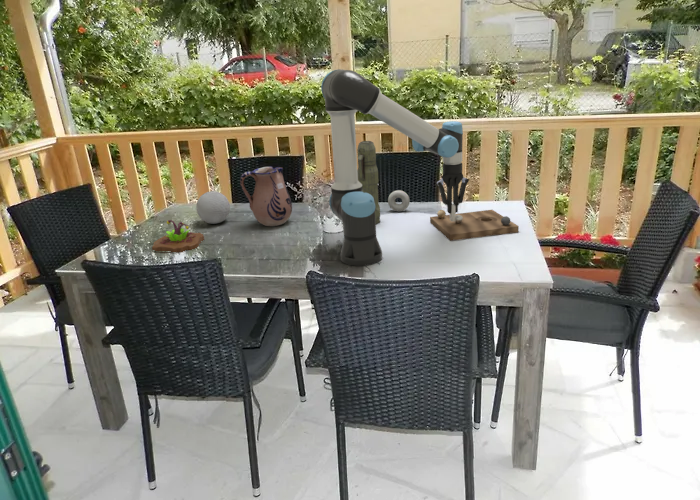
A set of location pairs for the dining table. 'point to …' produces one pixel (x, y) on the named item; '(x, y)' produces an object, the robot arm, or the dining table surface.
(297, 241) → the dining table surface
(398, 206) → the donut
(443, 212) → the beech ball
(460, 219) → the steel ball
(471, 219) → the walnut plate
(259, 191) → the ceramic pitcher
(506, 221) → the black rubber ball
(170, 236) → the plant
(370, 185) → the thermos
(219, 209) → the decorative ball
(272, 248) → the dining table surface
